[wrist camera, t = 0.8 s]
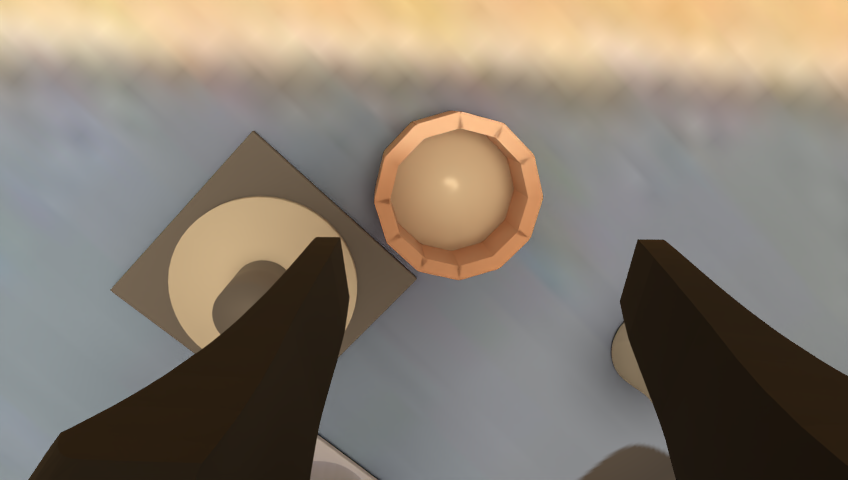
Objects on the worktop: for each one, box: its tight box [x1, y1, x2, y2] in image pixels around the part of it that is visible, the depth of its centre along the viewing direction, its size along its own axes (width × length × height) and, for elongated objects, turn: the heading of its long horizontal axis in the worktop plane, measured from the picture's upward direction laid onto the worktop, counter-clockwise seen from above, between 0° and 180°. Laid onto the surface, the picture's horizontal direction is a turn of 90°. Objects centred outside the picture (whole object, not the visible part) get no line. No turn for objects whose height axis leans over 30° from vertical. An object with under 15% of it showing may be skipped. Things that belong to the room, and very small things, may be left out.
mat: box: [111, 131, 417, 357], centre depth 32 cm, size 13×13×1 cm
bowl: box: [374, 111, 543, 280], centre depth 29 cm, size 9×9×4 cm
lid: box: [168, 196, 357, 349], centre depth 29 cm, size 11×11×5 cm
